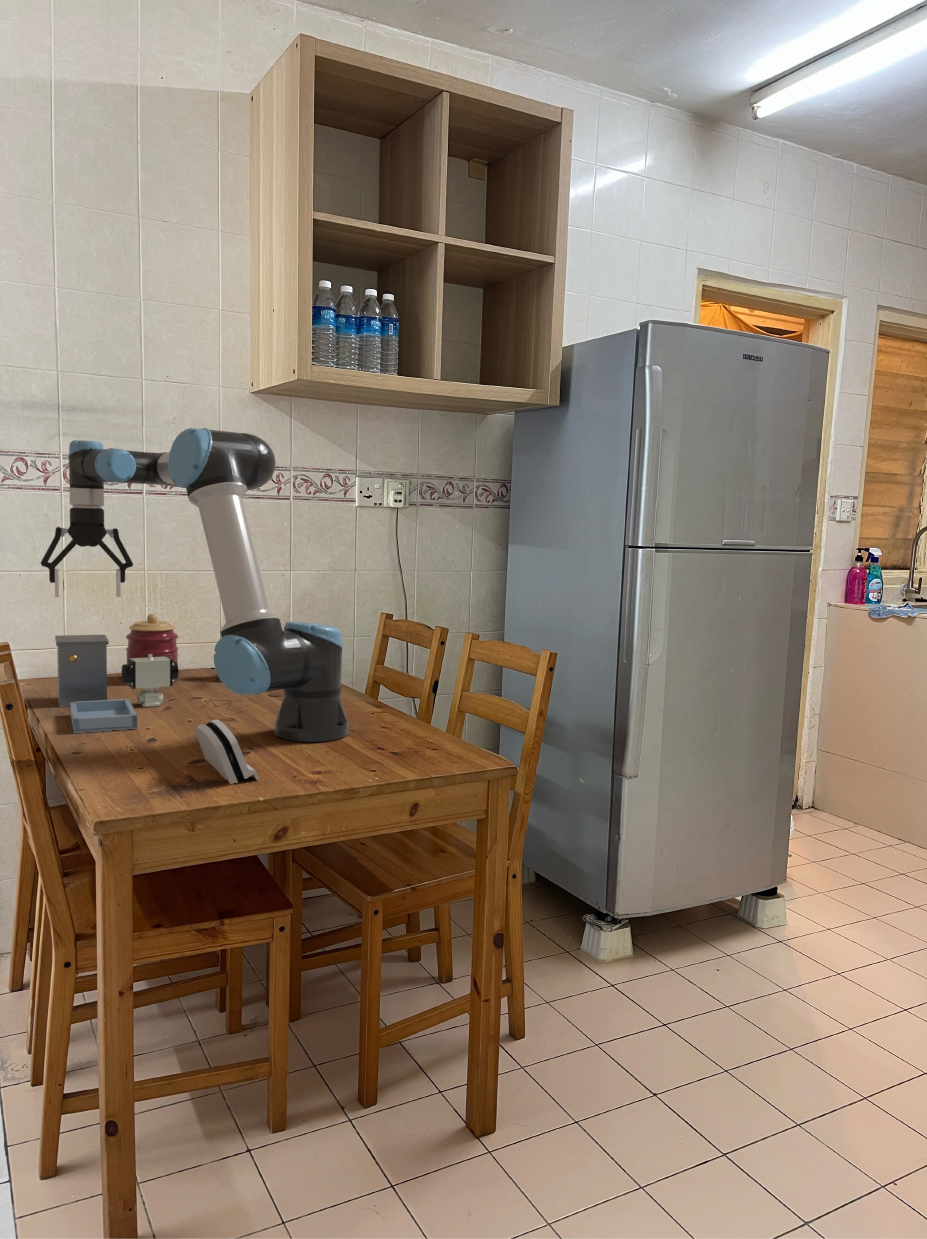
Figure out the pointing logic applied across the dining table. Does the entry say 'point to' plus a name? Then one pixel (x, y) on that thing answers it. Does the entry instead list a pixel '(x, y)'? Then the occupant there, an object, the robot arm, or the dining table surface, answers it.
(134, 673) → the pneumatic valve
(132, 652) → the canister
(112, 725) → the tray
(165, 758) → the dining table surface
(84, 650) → the box
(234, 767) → the grey curved fin
